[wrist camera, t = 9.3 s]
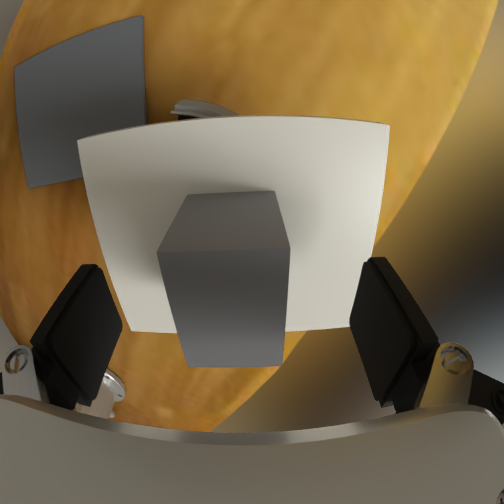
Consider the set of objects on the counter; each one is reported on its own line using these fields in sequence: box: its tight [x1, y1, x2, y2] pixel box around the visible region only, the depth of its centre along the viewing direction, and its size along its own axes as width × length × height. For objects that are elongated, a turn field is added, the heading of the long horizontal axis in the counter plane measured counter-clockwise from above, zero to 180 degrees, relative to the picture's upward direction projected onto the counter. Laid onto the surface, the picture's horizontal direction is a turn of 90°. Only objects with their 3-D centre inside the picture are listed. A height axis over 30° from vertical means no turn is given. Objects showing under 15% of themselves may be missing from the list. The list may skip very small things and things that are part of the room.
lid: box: [77, 115, 390, 367], centre depth 11 cm, size 11×13×6 cm
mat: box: [15, 15, 148, 189], centre depth 17 cm, size 13×14×1 cm
